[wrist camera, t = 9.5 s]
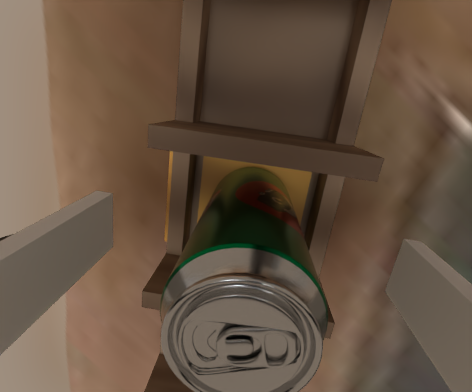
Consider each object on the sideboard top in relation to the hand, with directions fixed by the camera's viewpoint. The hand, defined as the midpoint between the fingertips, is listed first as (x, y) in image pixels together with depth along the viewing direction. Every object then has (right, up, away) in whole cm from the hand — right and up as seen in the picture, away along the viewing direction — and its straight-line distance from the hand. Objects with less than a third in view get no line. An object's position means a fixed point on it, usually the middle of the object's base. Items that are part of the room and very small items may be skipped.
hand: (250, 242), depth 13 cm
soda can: (0, +2, +6) cm, 6 cm away
